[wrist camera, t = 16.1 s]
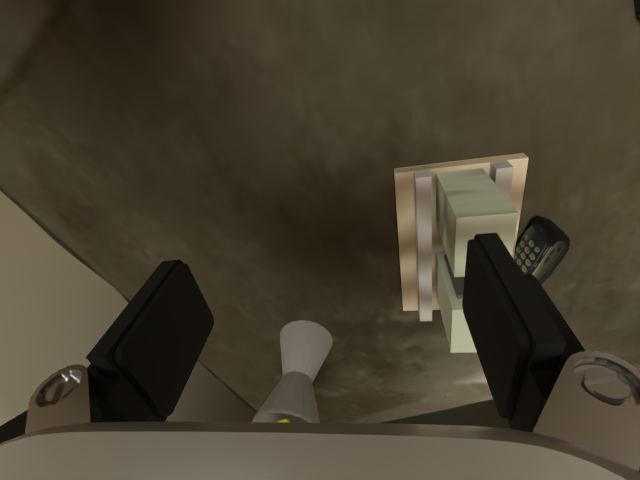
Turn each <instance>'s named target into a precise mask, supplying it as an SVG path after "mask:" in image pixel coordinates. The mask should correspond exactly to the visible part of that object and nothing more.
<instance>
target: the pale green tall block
mask: <svg viewBox="0 0 640 480" xmlns="http://www.w3.org/2000/svg"><path fill="white" fill-rule="evenodd" d="M463 289H464V277H454V275H453V272H452V269H451V266H450V263H449V260H448V257H447V254H446V251H435V291H436V295H437V299H438V303H439V307H440V311H441V315H442V319H443V323H444V327H445V331H446V336H447V340H448V344H449V348H450V352H477V351H476V348H475V345H474V342H473V339H472V337H471V334H470V331H469V328H468V325H467V322H466V320H465V317H464V313H463V308H462V301H463Z"/></svg>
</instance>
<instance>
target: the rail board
mask: <svg viewBox="0 0 640 480" xmlns="http://www.w3.org/2000/svg"><path fill="white" fill-rule="evenodd" d="M528 159H529V157H527V156H526V155H525V154H524V153H518V154H509V155H501V156H493V157H485V158H476V159H468V160H460V161H451V162H443V163H435V164H427V165H418V166H410V167H402V168H394V180H395V196H396V211H397V227H398V243H399V258H400V274H401V289H402V304H403V311H416V310H418V311H419V317H420V321H432V310H440V307H439V303H438V299H437V295H436V291H435V251H446V254H447V257H448V260H449V263H450V266H451V269H452V272H453V275H454V277H465V266H466V254H467V243H468V240H471V239H474V236H475V235H476V234H485V233H497V234H498V235H499V237H500V238H501V240H502V241H503V243H504V245H505V246H506V248H507V249H508V251H509V253H510V254H511V256H512V257H513V259H514V252H515V246H516V239H517V232H518V226H519V219H520V212H521V206H522V199H523V192H524V186H525V179H526V172H527V165H528Z"/></svg>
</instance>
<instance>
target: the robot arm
mask: <svg viewBox="0 0 640 480" xmlns="http://www.w3.org/2000/svg"><path fill="white" fill-rule="evenodd" d="M462 308H463V313H464V317H465V320H466V322H467V325H468V328H469V331H470V334H471V337H472V339H473V342H474V345H475V348H476V351H477V354H478V357H479V359H480V362H481V365H482V368H483V371H484V374H485V377H486V379H487V382H488V385H489V388H490V391H491V394H492V397H493V399H494V402H495V405H496V408H497V411H498V413H499V415H500V417H501V418H507V419H508V422H509V424H510V427H511V429H505V428H492V427H478V426H455V425H423V424H420V425H419V424H369V423H289V422H165V421H166V419H167V417H168V416H169V415H171V414H172V412H173V411H174V408H175V407H176V404H177V402H178V400H179V398H180V396H181V394H182V392H183V389H184V387H185V385H186V383H187V381H188V379H189V376H190V374H191V372H192V370H193V368H194V365H195V364H196V362H197V359H198V357H199V355H200V353H201V351H202V349H203V347H204V344H205V342H206V340H207V338H208V336H209V334H210V332H211V329H212V327H213V324H214V318H213V315H212V313H211V311H210V309H209V307H208V305H207V303H206V301H205V299H204V297H203V295H202V293H201V291H200V289H199V287H198V285H197V283H196V281H195V279H194V277H193V275H192V273H191V271H190V269H189V267H188V265H187V264H184V263H183V262H182V261H181V260H172V261H164V262H162V263H161V264H160V265H159V266H158V267H157V269H156V270H155V271H154V272H153V274H152V275H151V276H150V277H149V279H148V280H147V281H146V283H145V284H144V285H143V286H142V288H141V289H140V290H139V291H138V293H137V294H136V295H135V296H134V298H133V299H132V300H131V301H130V303H129V304H128V305H127V306H126V308H125V309H124V310H123V311H122V313H121V314H120V315H119V316H118V318H117V319H116V320H115V321H114V323H113V324H112V325H111V326H110V328H109V329H108V330H107V332H106V333H105V334H104V335H103V337H102V338H101V339H100V340H99V342H98V343H97V344H96V345H95V347H94V348H93V349H92V351H91V352H90V353H89V354H88V355H87V357H86V358H87V359H88V360H89V362H90V363H91V364H90V365H89V367H88V368H86V367H85V366H83V365H71V366H67V367H66V368H63V369H60V370H59V371H57V372H56V373H54V374H52V375H51V376H49V377H48V378H47V379H46V380H44V381H43V382H42V383H41V384H40V385H39V387H38V388H37V389H36V390H35V391H34V393H33V395H32V396H31V398H30V401H29V406H28V410H27V411H25V412H24V413H22V414H20V415H18V416H17V417H15V418H13V419H12V420H10V421H8V422H7V423H5V424H3V425H2V426H0V480H640V371H639V370H638V369H636V368H635V367H634V366H632V365H631V364H629V363H628V362H626V361H624V360H622V359H620V358H618V357H615V356H612V355H609V354H606V353H603V352H596V351H585V350H584V348H583V347H582V345H581V344H580V342H579V341H578V339H577V338H576V336H575V335H574V333H573V332H572V330H571V329H570V327H569V326H568V324H567V323H566V321H565V320H564V318H563V317H562V315H561V314H560V312H559V311H558V309H557V308H556V307H555V305H554V304H553V302H552V301H551V299H550V298H549V296H548V295H547V293H546V292H545V290H544V289H543V287H542V286H541V284H540V283H539V281H538V280H537V279H536V278H535V276H533V275H531V274H526V275H523V273H522V271H521V270H520V268H519V267H518V265H517V264H516V262H515V260H514V259H513V257H512V256H511V254H510V253H509V251H508V249H507V248H506V246H505V245H504V243H503V241H502V240H501V238H500V237H499V235H498V234H497V233H485V234H476V235H475V236H474V239H471V240H468V243H467V254H466V266H465V277H464V289H463V301H462Z"/></svg>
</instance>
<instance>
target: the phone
mask: <svg viewBox="0 0 640 480" xmlns="http://www.w3.org/2000/svg"><path fill="white" fill-rule="evenodd" d="M634 6H635V13H636V17H637V19H638V20H639V21H640V0H634Z"/></svg>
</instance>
